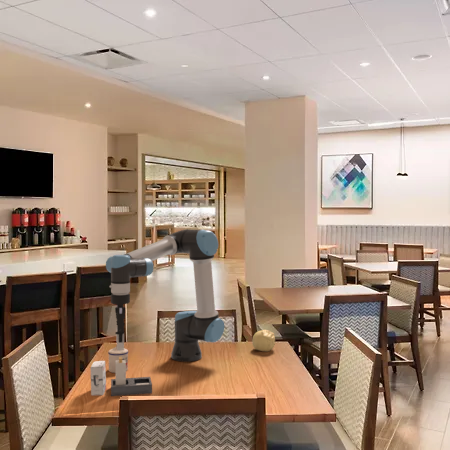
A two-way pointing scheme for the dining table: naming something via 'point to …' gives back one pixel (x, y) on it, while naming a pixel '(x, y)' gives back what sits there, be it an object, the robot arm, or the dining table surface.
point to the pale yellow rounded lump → (263, 340)
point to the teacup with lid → (117, 358)
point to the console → (132, 386)
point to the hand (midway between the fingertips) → (120, 346)
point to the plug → (120, 372)
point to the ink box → (98, 378)
